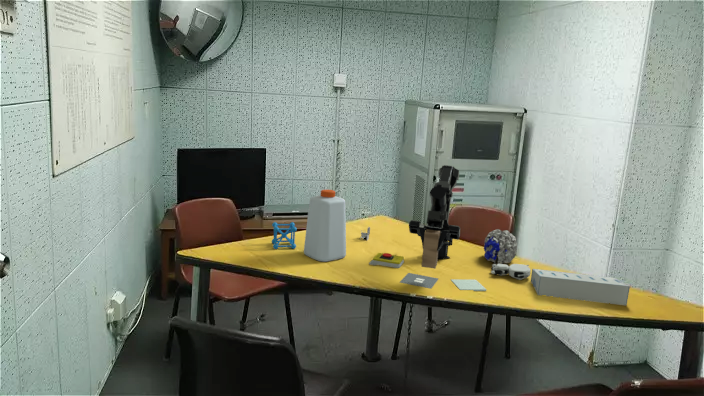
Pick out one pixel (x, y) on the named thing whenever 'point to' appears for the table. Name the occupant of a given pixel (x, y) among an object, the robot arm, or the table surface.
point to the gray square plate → (419, 280)
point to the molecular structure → (284, 235)
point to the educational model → (500, 246)
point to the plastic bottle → (326, 227)
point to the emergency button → (387, 260)
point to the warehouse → (580, 286)
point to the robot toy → (511, 270)
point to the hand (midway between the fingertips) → (430, 249)
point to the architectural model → (365, 234)
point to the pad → (468, 285)
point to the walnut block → (430, 248)
